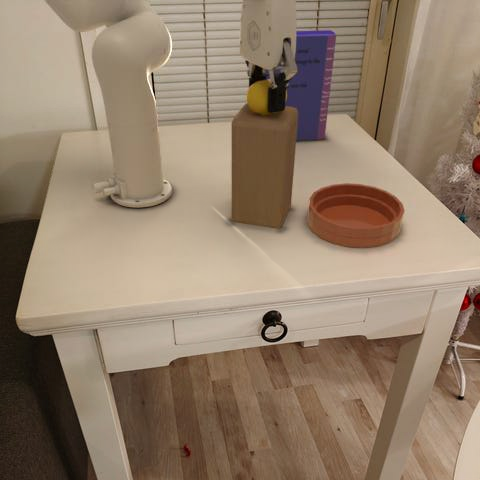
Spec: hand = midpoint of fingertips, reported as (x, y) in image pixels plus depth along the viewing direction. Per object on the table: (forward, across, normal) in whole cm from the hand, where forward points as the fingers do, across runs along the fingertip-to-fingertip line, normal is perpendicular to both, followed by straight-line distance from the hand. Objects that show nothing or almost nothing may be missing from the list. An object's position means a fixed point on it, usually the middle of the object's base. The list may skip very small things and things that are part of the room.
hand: (266, 104), depth 91 cm
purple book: (+21, -30, +27) cm, 46 cm away
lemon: (+1, 0, 0) cm, 1 cm away
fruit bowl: (+21, +12, +13) cm, 28 cm away
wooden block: (+21, 0, 0) cm, 21 cm away
